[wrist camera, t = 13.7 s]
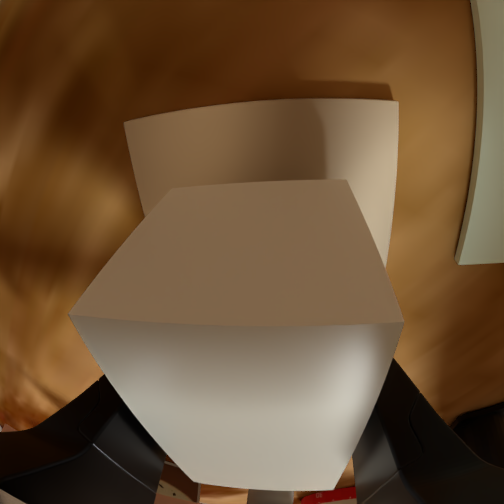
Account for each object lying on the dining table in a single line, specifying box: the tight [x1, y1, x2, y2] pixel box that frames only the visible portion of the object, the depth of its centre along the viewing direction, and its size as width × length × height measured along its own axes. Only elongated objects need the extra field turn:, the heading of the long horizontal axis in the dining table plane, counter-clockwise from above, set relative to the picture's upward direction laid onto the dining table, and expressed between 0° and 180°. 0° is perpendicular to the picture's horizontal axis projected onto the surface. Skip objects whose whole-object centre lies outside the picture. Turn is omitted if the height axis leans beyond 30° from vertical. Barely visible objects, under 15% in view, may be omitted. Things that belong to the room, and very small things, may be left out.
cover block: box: [68, 179, 404, 491], centre depth 8 cm, size 5×8×5 cm, turn 6°
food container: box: [157, 461, 201, 503], centre depth 23 cm, size 12×6×10 cm, turn 68°
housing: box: [123, 98, 399, 504], centre depth 10 cm, size 8×16×7 cm, turn 6°
